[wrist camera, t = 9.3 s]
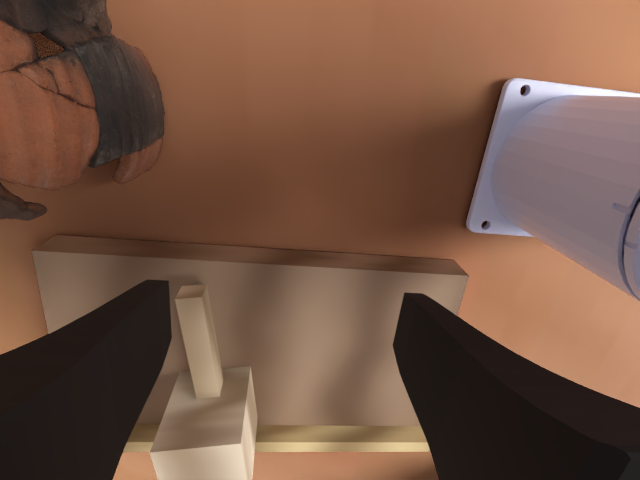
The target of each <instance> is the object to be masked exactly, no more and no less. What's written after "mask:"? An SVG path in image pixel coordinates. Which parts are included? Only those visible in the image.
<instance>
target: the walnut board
mask: <svg viewBox="0 0 640 480" xmlns="http://www.w3.org/2000/svg"><path fill="white" fill-rule="evenodd" d="M31 252H32V257H33V261H34V266H35V271H36V276H37V281H38V286H39V291H40V295H41V300H42V305H43V310H44V315H45V320H46V325H47V329H48V334H50V333H52V332H54V331H56V330H58V329H60V328H61V327H63V326H65V325H67V324H69V323H71V322H73V321H75V320H76V319H78V318H80V317H82V316H84V315H86V314H88V313H90V312H91V311H93V310H95V309H97V308H98V307H100V306H102V305H104V304H105V303H107V302H109V301H110V300H112V299H114V298H115V297H117V296H119V295H121V294H122V293H124V292H126V291H127V290H129V289H131V288H132V287H134V286H136V285H138V284H139V283H141V282H143V281H145V280H147V279H148V280H168V281H169V293H170V312H171V330H172V339H171V342H170V346H169V349H168V352H167V355H166V358H165V361H164V364H163V367H162V370H161V372H160V374H159V376H158V378H157V380H156V382H155V385H154V387H153V389H152V391H151V393H150V395H149V397H148V399H147V401H146V403H145V405H144V407H143V410H142V412H141V414H140V416H139V418H138V420H137V422H136V424H135V426H134V428H133V430H132V432H131V434H130V437H129V439H128V441H127V443H126V446H125V448H124V450H123V452H150V450H151V448H152V445H153V442H154V440H155V437H156V434H157V432H158V429H159V426H160V423H161V421H162V418H163V415H164V413H165V410H166V407H167V405H168V402H169V399H170V397H171V394H172V391H173V388H174V386H175V383H176V380H177V378H178V375H179V372H187V371H190V367H189V362H188V358H187V353H186V348H185V344H184V339H183V335H182V330H181V325H180V321H179V316H178V312H177V307H176V302H175V298H176V296H177V294H178V292H179V290H180V288H181V286H189V285H195V284H196V283H202V284H207V288H208V294H209V300H210V305H211V311H212V317H213V323H214V328H215V334H216V340H217V345H218V351H219V357H220V363H221V368H234V367H246V366H251V373H252V380H253V387H254V395H255V402H256V409H257V417H258V418H257V430H256V441H255V452H429V450H430V448H429V446H428V443H427V440H426V437H425V435H424V433H423V430H422V428H421V425H420V423H419V420H418V418H417V415H416V413H415V411H414V408H413V406H412V403H411V401H410V398H409V396H408V393H407V391H406V388H405V386H404V383H403V381H402V378H401V376H400V373H399V369H398V365H397V362H396V358H395V353H394V349H393V341H394V337H395V332H396V328H397V323H398V319H399V314H400V309H401V305H402V300H403V296H404V293H423V294H425V295H427V296H428V297H430V298H432V299H433V300H435V301H436V302H438V303H439V304H441V305H442V306H443V307H445V308H446V309H448V310H449V311H451V312H452V313H454V314H455V315H456V316H457V315H458V311H459V308H460V305H461V301H462V298H463V294H464V291H465V287H466V284H467V280H468V277H469V275H468V274H467V273H466V272H465V271H464V270H463V269H462V268H461V267H460V266H459V265H458V264H457V263H456V262H455V261H454V260H447V259H431V258H415V257H399V256H383V255H367V254H352V253H336V252H320V251H304V250H288V249H272V248H256V247H240V246H224V245H208V244H192V243H176V242H160V241H144V240H128V239H112V238H96V237H81V236H65V235H55V236H53V237H52V238H50V239H48V240H47V241H45V242H44V243H42V244H41V245H39V246H38V247H36V248H35V249H33V250H31Z"/></svg>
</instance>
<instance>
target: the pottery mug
mask: <svg viewBox="0 0 640 480" xmlns="http://www.w3.org/2000/svg"><path fill="white" fill-rule="evenodd" d="M106 2H107V1H106V0H0V179H2V180H5V181H7V182H10V183H20V184H23V185H25V186H30V187H35V188H42V189H47V190H58V189H60V188H62V187H66V186H70V185H71V184H73V183H76V182H77V181H78V180H79V179H80V177H81V176H82V174H83V172H84V170H85V168H86V167H87V166H89V167H92V168H95V167H97V166H100V165H103V164H106V163H109V162H110V161H111V160H114V159H118V158H120V161H119V164H118V167H117V169H116V171H115V173H114V175H113V179H114V180H115V181H116V182H117V183H119V184H122V183H126V182H128V181H130V180H132V179H134V178H135V177H137V176H139V175H140V174H141V173H143V172H145V171H148V170H149V169H151V168H152V166H153V165H154V163H155V162H156V160H157V158H158V155H159V153H160V150H161V145H162V141H163V135H164V114H165V112H164V107H163V103H162V96H161V91H160V88H159V84H158V81H157V79H156V76H155V75H154V73H153V72H152V69H151V67H150V65H149V63H148V61H147V60H146V58H145V56H144V55H143V53H142V52H141V50H139V49H138V48H136V47H133V46H130V45H128V44H126V43H125V42H124V41H122V40H120V39H117V38H116V37H115V36H114V35H112V34H111V33H110V32H111V28H112V24H111V21H110V19H109V17H108V15H107V8H106ZM39 32H40V33H42V34H43V35H44V36H46V37H47V38H49V39H50V40H52V41H54V42H55V43H57V44H58V45H59V46H61V47H63V48H64V51H63V52H61V53H60V54H56V55H53V56H49V57H44V58H42V59H40V58H39V56H38V54H37V50H36V47H35V44H34V42H33V40H32V39H31V38H30V36H29V35H28V33H39ZM46 211H47V208H46V207H45V206H44V205H42V204H39V203H32V202H25V201H23V200H22V199H21V198H19V197H17V196H15V195H14V194H12V193H11V192H9V191H8V190H7V189H6V188H4V186H3V185H2V184H1V183H0V219H5V218H8V219H21V220H32V219H34V218H36V217H38V216H41V215H43V214H45V213H46Z"/></svg>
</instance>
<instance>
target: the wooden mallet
mask: <svg viewBox="0 0 640 480" xmlns="http://www.w3.org/2000/svg"><path fill="white" fill-rule="evenodd" d="M175 302H176V307H177V312H178V316H179V321H180V325H181V330H182V335H183V339H184V344H185V348H186V353H187V358H188V362H189V367H190V371H187V372H179V375H178V378H177V380H176V383H175V386H174V388H173V391H172V394H171V397H170V399H169V402H168V405H167V407H166V410H165V413H164V415H163V418H162V421H161V423H160V426H159V429H158V432H157V434H156V437H155V440H154V442H153V445H152V448H151V450H150V455H151V459H152V462H153V465H154V468H155V472H156V475H157V478H158V480H252V476H253V464H254V453H255V441H256V430H257V418H258V417H257V409H256V402H255V395H254V387H253V380H252V373H251V366H246V367H234V368H221V363H220V357H219V351H218V345H217V340H216V334H215V328H214V323H213V317H212V311H211V305H210V300H209V294H208V288H207V284H202V283H196V284H195V285H189V286H181V288H180V290H179V292H178V294H177V296H176V298H175Z"/></svg>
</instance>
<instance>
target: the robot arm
mask: <svg viewBox="0 0 640 480" xmlns="http://www.w3.org/2000/svg"><path fill="white" fill-rule="evenodd" d="M522 86H525V87H526V91H525V93H524V94H523V95H521V94H520V89H521V88H522ZM484 221H487V224H486V225H485V226H484V227H481V225H482V223H483V222H484ZM466 227H467V228H468V229H469V230H470V231H471V232H474V233H487V234H501V235H514V236H528V237H535V238H537V239H539V240H540V241H542V242H544V243H545V244H547V245H548V246H550V247H552V248H553V249H555V250H557V251H558V252H560V253H562V254H563V255H565V256H566V257H568V258H570V259H571V260H573V261H575V262H576V263H578V264H580V265H581V266H583V267H584V268H586V269H588V270H589V271H591V272H593V273H594V274H596V275H598V276H599V277H601V278H602V279H604V280H606V281H607V282H609V283H611V284H612V285H614V286H616V287H617V288H619V289H620V290H622V291H624V292H625V293H627V294H629V295H630V296H632V297H634V298H635V299H637V300H638V301H640V93H632V92H624V91H617V90H609V89H601V88H593V87H585V86H577V85H569V84H561V83H553V82H545V81H538V80H530V79H522V78H512V79H509V80H507V81H506V83H505V84H504V86H503V88H502V91H501V95H500V99H499V102H498V106H497V110H496V113H495V117H494V121H493V124H492V128H491V132H490V136H489V139H488V143H487V147H486V150H485V154H484V158H483V161H482V165H481V169H480V173H479V176H478V180H477V184H476V187H475V191H474V195H473V198H472V202H471V206H470V209H469V213H468V217H467V221H466ZM171 339H172V330H171V312H170V293H169V281H168V280H148V279H147V280H145V281H143V282H141V283H139V284H138V285H136V286H134V287H132V288H131V289H129V290H127V291H126V292H124V293H122V294H121V295H119V296H117V297H115V298H114V299H112V300H110V301H109V302H107V303H105V304H104V305H102V306H100V307H98V308H97V309H95V310H93V311H91V312H90V313H88V314H86V315H84V316H82V317H80V318H78V319H76V320H75V321H73V322H71V323H69V324H67V325H65V326H63V327H61V328H60V329H58V330H56V331H54V332H52V333H50V334H47V335H45V336H43V337H41V338H39V339H37V340H34V341H32V342H30V343H28V344H25V345H23V346H21V347H18V348H16V349H14V350H11V351H9V352H6V353H4V354H1V355H0V480H112V479H113V477H114V474H115V471H116V468H117V466H118V463H119V460H120V457H121V455H122V453H123V450H124V448H125V446H126V443H127V441H128V439H129V437H130V434H131V432H132V430H133V428H134V426H135V424H136V422H137V420H138V418H139V416H140V414H141V412H142V410H143V407H144V405H145V403H146V401H147V399H148V397H149V395H150V393H151V391H152V389H153V387H154V385H155V382H156V380H157V378H158V376H159V374H160V372H161V370H162V367H163V364H164V361H165V358H166V355H167V352H168V349H169V346H170V342H171ZM393 349H394V353H395V358H396V362H397V365H398V369H399V373H400V376H401V378H402V381H403V383H404V386H405V388H406V391H407V393H408V396H409V398H410V401H411V403H412V406H413V408H414V411H415V413H416V415H417V418H418V420H419V423H420V425H421V428H422V430H423V433H424V435H425V437H426V440H427V443H428V446H429V448H430V451H431V454H432V457H433V460H434V464H435V467H436V471H437V474H438V477H439V480H640V408H638V407H636V406H633V405H630V404H628V403H625V402H622V401H620V400H617V399H614V398H611V397H609V396H606V395H604V394H601V393H599V392H596V391H594V390H591V389H589V388H586V387H584V386H582V385H579V384H577V383H575V382H573V381H570V380H568V379H566V378H564V377H561V376H559V375H557V374H555V373H553V372H551V371H549V370H547V369H545V368H542V367H540V366H539V365H537V364H535V363H533V362H531V361H529V360H527V359H525V358H523V357H522V356H520V355H518V354H516V353H514V352H513V351H511V350H509V349H507V348H506V347H504V346H502V345H501V344H499V343H497V342H496V341H494V340H493V339H491V338H489V337H488V336H486V335H485V334H483V333H482V332H480V331H478V330H477V329H475V328H474V327H472V326H471V325H469V324H468V323H467V322H465V321H464V320H462V319H461V318H459V317H458V316H456V315H455V314H454V313H452V312H451V311H449V310H448V309H446V308H445V307H443V306H442V305H441V304H439V303H438V302H436V301H435V300H433V299H432V298H430V297H428V296H427V295H425V294H423V293H404V296H403V300H402V305H401V309H400V314H399V319H398V323H397V328H396V332H395V337H394V341H393Z"/></svg>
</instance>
